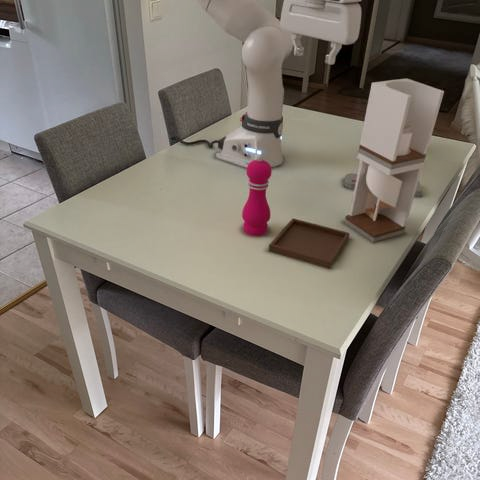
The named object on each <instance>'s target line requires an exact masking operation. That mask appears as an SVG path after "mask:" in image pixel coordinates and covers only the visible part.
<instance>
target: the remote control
mask: <svg viewBox="0 0 480 480" xmlns="http://www.w3.org/2000/svg"><path fill="white" fill-rule="evenodd" d="M357 174H358V173H353V172H352V173H346V175H345V176H344V186H345V188H348V189H349V190H354V189H355V184H356V179H357ZM421 196H422V185H421V183H420V180H419V181H418V185H417V188H416V192H415V195H414V197H419V198H421Z"/></svg>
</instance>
